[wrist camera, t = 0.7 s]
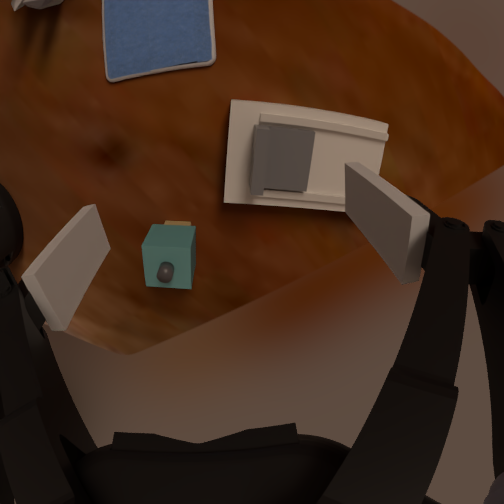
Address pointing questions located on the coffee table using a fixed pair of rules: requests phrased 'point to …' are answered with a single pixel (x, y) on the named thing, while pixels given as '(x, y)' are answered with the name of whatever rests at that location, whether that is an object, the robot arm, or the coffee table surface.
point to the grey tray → (323, 157)
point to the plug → (170, 255)
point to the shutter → (280, 158)
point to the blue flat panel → (156, 36)
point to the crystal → (34, 3)
